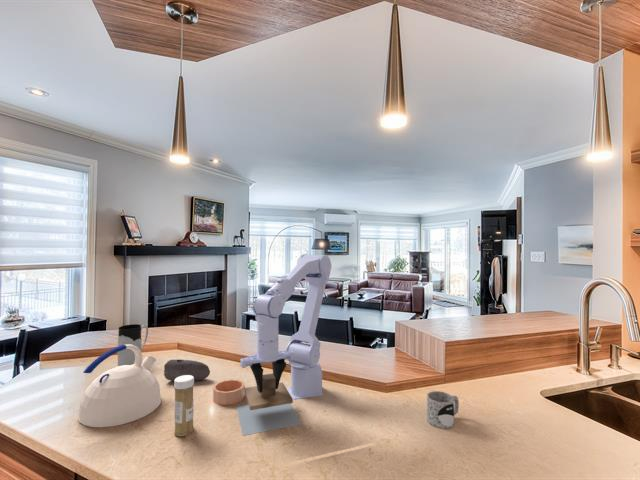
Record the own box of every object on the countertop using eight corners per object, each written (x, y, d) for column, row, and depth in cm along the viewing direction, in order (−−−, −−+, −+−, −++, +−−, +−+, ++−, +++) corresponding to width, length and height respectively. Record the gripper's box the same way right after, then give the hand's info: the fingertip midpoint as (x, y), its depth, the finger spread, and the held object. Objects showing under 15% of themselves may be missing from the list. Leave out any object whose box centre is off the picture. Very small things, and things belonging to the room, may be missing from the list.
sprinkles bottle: (195, 433, 81) (195, 379, 81) (175, 439, 79) (176, 383, 79) (191, 425, 85) (191, 372, 85) (172, 430, 82) (172, 376, 83)
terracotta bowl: (242, 390, 105) (242, 377, 105) (246, 403, 96) (246, 389, 96) (212, 394, 102) (212, 382, 102) (213, 408, 93) (213, 394, 93)
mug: (441, 431, 82) (441, 405, 82) (421, 419, 88) (421, 394, 88) (468, 422, 87) (468, 396, 87) (448, 410, 93) (448, 386, 93)
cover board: (282, 385, 96) (282, 366, 96) (292, 402, 86) (292, 381, 86) (244, 391, 92) (244, 372, 92) (250, 410, 82) (250, 388, 82)
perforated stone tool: (212, 377, 115) (212, 357, 115) (207, 383, 110) (207, 362, 110) (169, 377, 115) (169, 357, 115) (162, 383, 110) (162, 362, 110)
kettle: (177, 399, 99) (178, 339, 99) (108, 436, 80) (109, 362, 80) (132, 387, 107) (133, 332, 108) (60, 417, 89) (61, 350, 89)
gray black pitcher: (110, 369, 122) (110, 329, 122) (137, 356, 136) (138, 320, 136) (131, 371, 121) (131, 330, 121) (156, 357, 135) (157, 321, 135)
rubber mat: (287, 399, 99) (287, 398, 99) (302, 425, 85) (302, 423, 85) (236, 408, 94) (236, 406, 94) (242, 437, 79) (242, 435, 79)
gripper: (287, 332, 96) (287, 378, 96) (237, 338, 89) (237, 388, 89) (296, 338, 90) (296, 388, 90) (244, 346, 83) (244, 399, 83)
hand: (267, 389), depth 89 cm, fingers closed on cover board, 4 cm apart
